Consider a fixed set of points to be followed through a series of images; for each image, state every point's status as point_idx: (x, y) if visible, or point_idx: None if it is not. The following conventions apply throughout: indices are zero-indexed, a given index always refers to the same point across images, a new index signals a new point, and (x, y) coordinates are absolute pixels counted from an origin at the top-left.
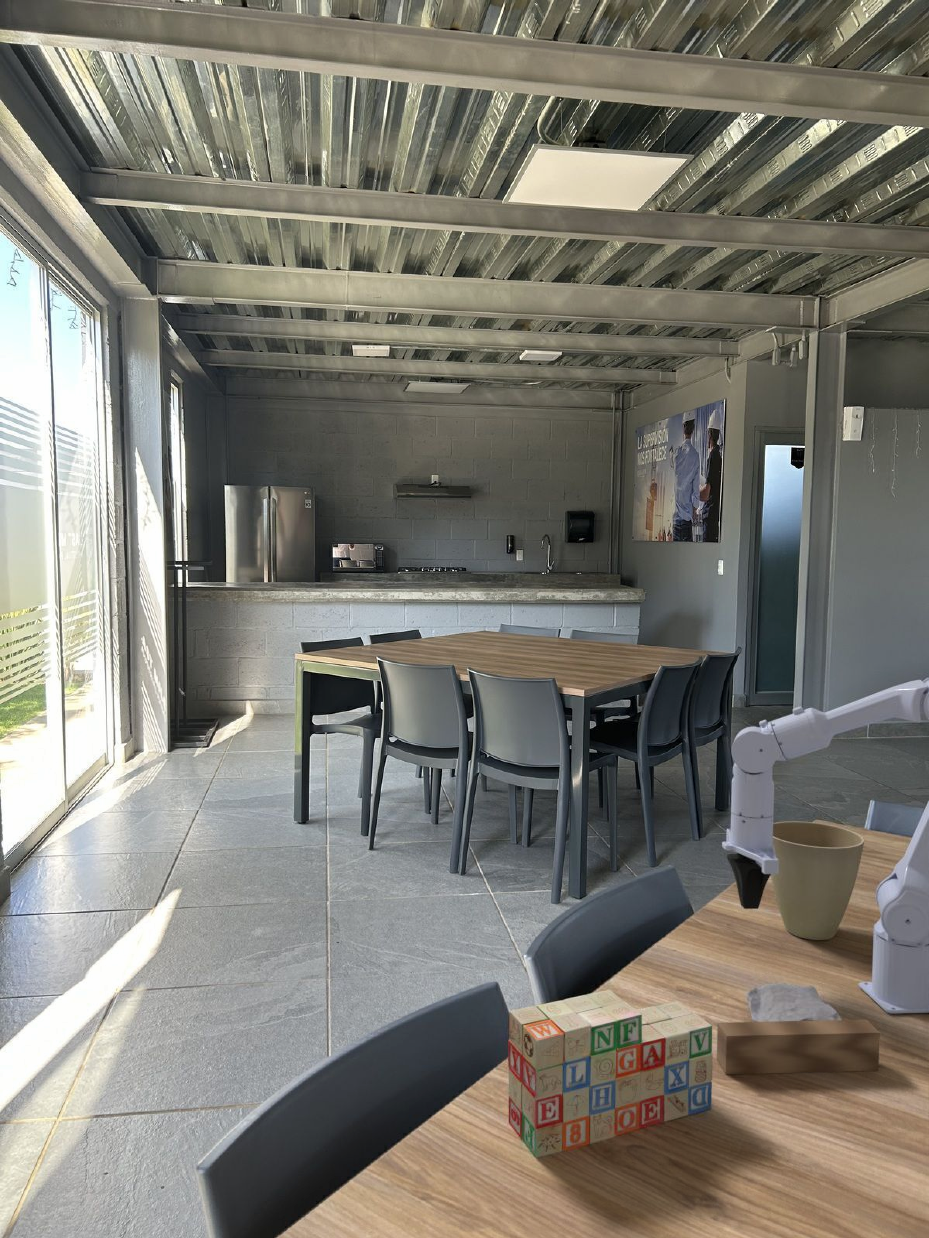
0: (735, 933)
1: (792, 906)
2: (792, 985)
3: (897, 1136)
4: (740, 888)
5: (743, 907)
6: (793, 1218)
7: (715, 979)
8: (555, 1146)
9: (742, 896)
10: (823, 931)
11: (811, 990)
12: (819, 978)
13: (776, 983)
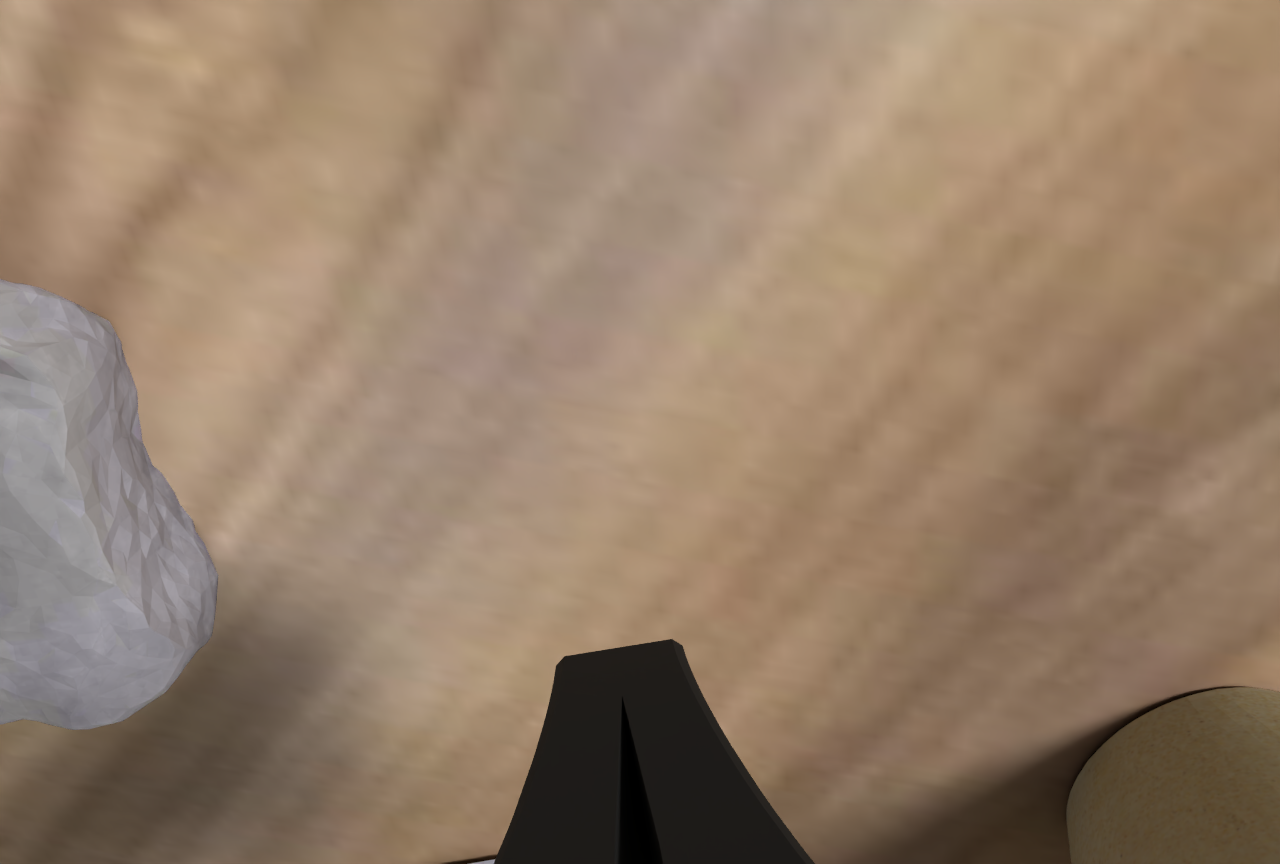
0: (1255, 399)
1: (1223, 858)
2: (104, 612)
3: None
4: (582, 837)
5: (589, 653)
6: None
7: (481, 103)
8: None
9: (540, 763)
10: (1072, 862)
11: (49, 702)
12: None
13: (74, 524)
